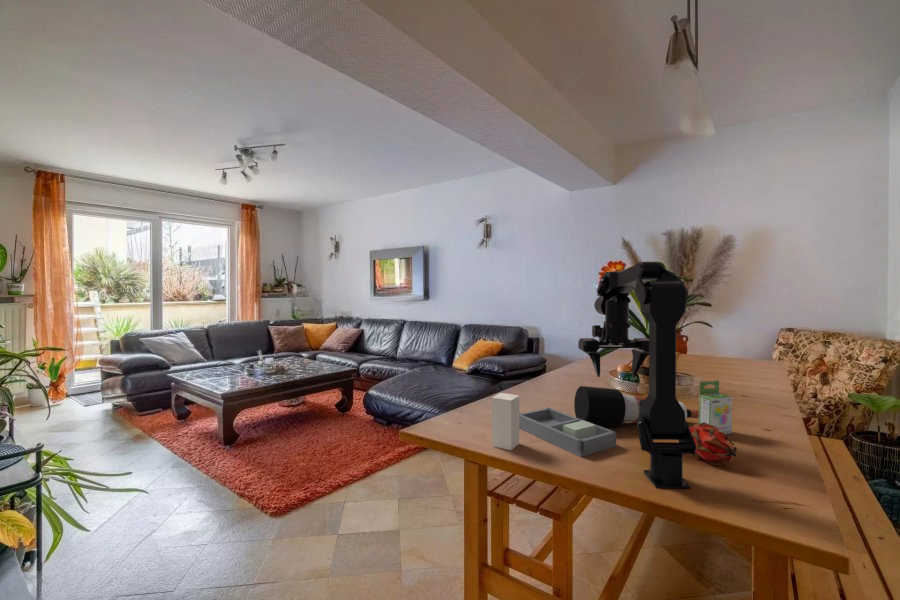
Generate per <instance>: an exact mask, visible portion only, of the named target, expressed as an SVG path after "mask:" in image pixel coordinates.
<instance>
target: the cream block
mask: <svg viewBox="0 0 900 600" xmlns="http://www.w3.org/2000/svg"><path fill="white" fill-rule="evenodd" d="M519 414H520V395H517V394H511V393H505V392H499V393H498V394H495V396H492V397H491V446H492V447H494V448H498V449H502V450H507V451H513V450H514V449H515V448H516V447H517V446H518V445H519V444H520V428H519Z"/></svg>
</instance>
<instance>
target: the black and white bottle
mask: <svg viewBox="0 0 900 600" xmlns="http://www.w3.org/2000/svg"><path fill="white" fill-rule="evenodd" d="M646 397H647V396H635V395H629V394H628V395H627V394H623V393H622V391H621V390H619V389H618V388H617V389H616V388H607V387H605V388H604V387H597V386H596V387H595V386H584V385H583V386H582V385H580V386H579V387H577V389H576V392H575V395H574V404H573V405H574V406H573V407H574V408H573V409H574V414H575V417H576V418H579V419H582V420H584V421H587V422H590V423H592V424H595V425H598V426H607V427H621V425H622V424H623V423H626V422H628V423H633V424H634V423H637V421H638V417H639V403H640V400H641V399H646ZM678 402H679V404H680V405H681V407H682V408H683V410H684V411H685V419H686V420H687V418H688V419H699V409H698V410H697V409H695V410H694V409H690V408H689V409H688V408H686V405H685V404H684V403H683V402H682V401H678Z"/></svg>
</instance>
